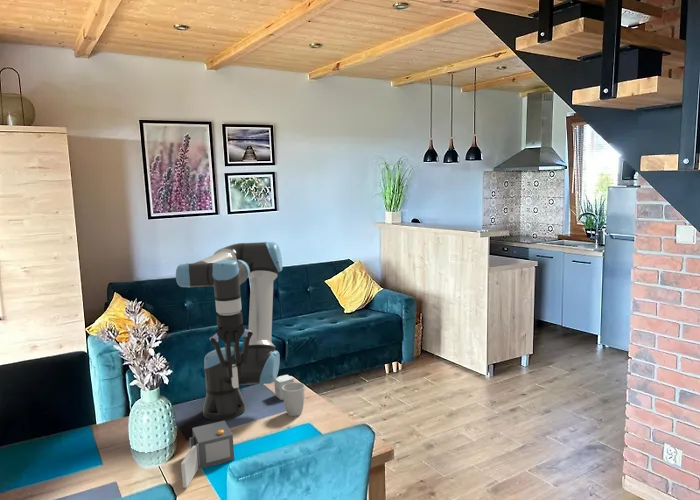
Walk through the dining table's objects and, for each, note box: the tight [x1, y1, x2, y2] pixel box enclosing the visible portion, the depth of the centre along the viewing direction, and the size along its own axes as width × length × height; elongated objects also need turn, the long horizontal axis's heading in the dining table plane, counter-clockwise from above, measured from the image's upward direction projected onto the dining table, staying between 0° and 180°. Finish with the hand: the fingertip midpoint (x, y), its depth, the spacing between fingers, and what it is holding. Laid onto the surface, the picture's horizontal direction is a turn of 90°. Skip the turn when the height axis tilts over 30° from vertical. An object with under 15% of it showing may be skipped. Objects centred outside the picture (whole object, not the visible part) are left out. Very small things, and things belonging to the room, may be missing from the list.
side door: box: [178, 444, 201, 488], centre depth 146 cm, size 2×11×7 cm, turn 178°
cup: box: [282, 381, 306, 417], centre depth 187 cm, size 8×8×10 cm
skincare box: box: [273, 374, 295, 401], centre depth 203 cm, size 6×6×7 cm
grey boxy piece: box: [188, 420, 235, 470], centre depth 158 cm, size 11×12×9 cm
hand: (235, 386), depth 159 cm, fingers closed
